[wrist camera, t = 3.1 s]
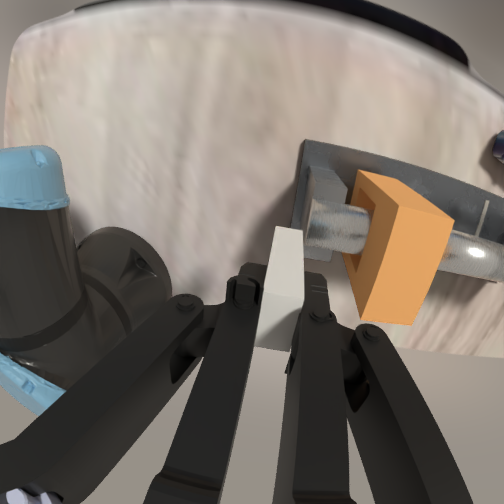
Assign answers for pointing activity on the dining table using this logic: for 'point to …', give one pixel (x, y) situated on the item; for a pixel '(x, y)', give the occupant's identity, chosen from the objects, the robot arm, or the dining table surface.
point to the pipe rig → (359, 219)
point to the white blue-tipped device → (499, 147)
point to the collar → (395, 249)
